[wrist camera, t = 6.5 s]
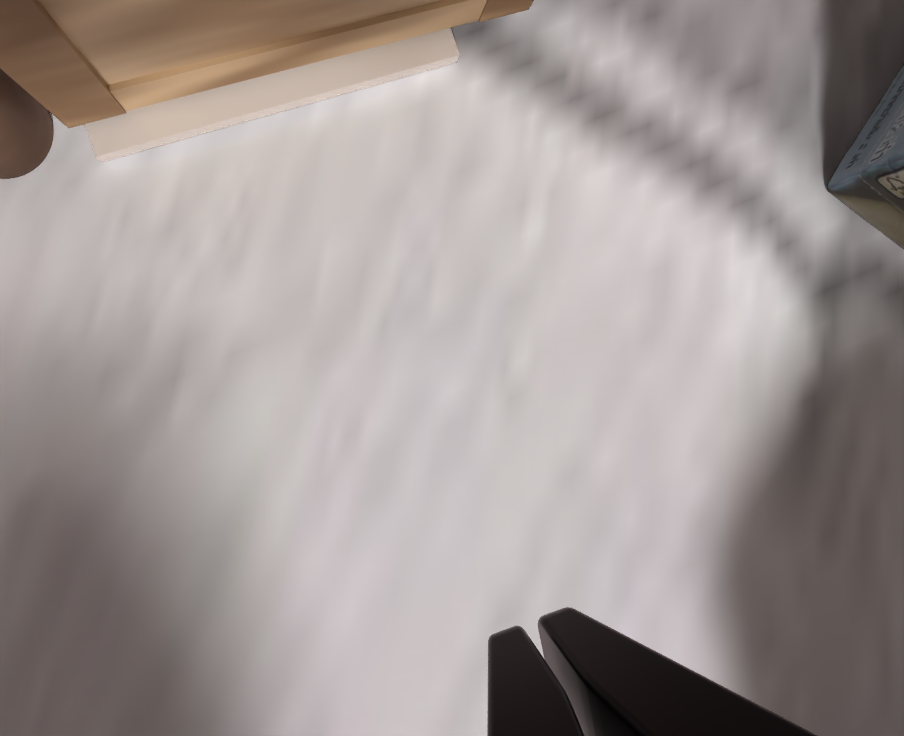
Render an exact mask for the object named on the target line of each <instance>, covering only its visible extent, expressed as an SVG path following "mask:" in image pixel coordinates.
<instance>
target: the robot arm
mask: <svg viewBox="0 0 904 736" xmlns="http://www.w3.org/2000/svg"><path fill="white" fill-rule="evenodd" d="M538 629H539V634H540V639H541V644H542V649H543V654H544V658H545V660H544V658H543V657H542V655H541V654H540V652H539V651H538V649H537V648H536V646H535V645H534V643H533V642H532V640H531V639H530V637H529V636H528V635H527V633H526V632H525V630H524V629H523V628H522V627H520V626H514V627H511V628H508V629H506V630H503V631H500V632H498V633H495V634H493V635H491V636H490V637H489V640H488V736H817V735H815V734H813V733H811V732H809V731H807V730H805V729H804V728H802V727H800V726H798V725H796V724H794V723H792V722H790V721H788V720H786V719H784V718H782V717H781V716H779V715H777V714H775V713H773V712H771V711H769V710H767V709H765V708H763V707H761V706H759V705H758V704H756V703H754V702H752V701H750V700H748V699H746V698H744V697H742V696H740V695H738V694H736V693H735V692H733V691H731V690H729V689H727V688H725V687H723V686H721V685H719V684H717V683H715V682H713V681H711V680H710V679H708V678H706V677H704V676H702V675H700V674H698V673H696V672H694V671H692V670H690V669H688V668H687V667H685V666H683V665H681V664H679V663H677V662H675V661H673V660H671V659H669V658H667V657H665V656H664V655H662V654H660V653H658V652H656V651H654V650H652V649H650V648H648V647H646V646H644V645H642V644H641V643H639V642H637V641H635V640H633V639H631V638H629V637H627V636H625V635H623V634H621V633H619V632H618V631H616V630H614V629H612V628H610V627H608V626H606V625H604V624H602V623H600V622H598V621H596V620H594V619H593V618H591V617H589V616H587V615H585V614H583V613H581V612H579V611H577V610H575V609H573V608H569V607H567V608H563V609H560V610H557V611H554V612H552V613H549V614H546V615H544V616H542V617H540V619H539V621H538Z"/></svg>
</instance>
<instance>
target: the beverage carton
mask: <svg viewBox="0 0 904 736" xmlns="http://www.w3.org/2000/svg"><path fill="white" fill-rule="evenodd" d="M827 190H828V192H830V193H831V194H832V195H834V196H835V197H836V198H838V199H839V200H840V201H841V202H843V203H844V204H845V205H846V206H848V207H849V208H850V209H851V210H853V211H854V212H855V213H857V214H858V215H859V216H860V217H862V218H863V219H864V220H866V221H867V222H868V223H870V224H871V225H873V226H874V227H875V228H877V229H878V230H879V231H881V232H882V233H883V234H884V235H886V236H887V237H888V238H890V239H891V240H892V241H894V242H895V243H896V244H898V245H899V246H900V247H902V248H903V249H904V65H903V67H902V68H901V70H900V72H899V73H898V74H897V76H896V77H895V79H894V80H893V82H892V84H891V85H890V87H889V88H888V90H887V92H886V93H885V95H884V96H883V98H882V99H881V101H880V103H879V104H878V106H877V107H876V109H875V110H874V112H873V113H872V115H871V116H870V118H869V119H868V121H867V122H866V124H865V125H864V127H863V128H862V130H861V132H860V133H859V135H858V137H857V138H856V140H855V142H854V143H853V145H852V146H851V147H850V149H849V150H848V151H847V153H846V154H845V156H844V158H843V159H842V161H841V162H840V164H839V166H838V168H837V169H836V171H835V173H834V175H833V177H832V178H831V180H830V182H829V184H828V187H827Z"/></svg>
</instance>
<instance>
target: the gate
mask: <svg viewBox="0 0 904 736" xmlns="http://www.w3.org/2000/svg"><path fill="white" fill-rule="evenodd" d="M533 1H534V0H0V68H1V69H2V70H3V71H4V72H5V73H6V74H7V75H8V76H10V77H11V78H12V79H13V80H14V81H15V82H16V83H18V84H19V85H20V86H21V87H22V88H23V89H24V90H26V91H27V92H28V93H29V94H30V95H31V96H32V97H34V98H35V99H36V100H37V101H38V102H39V103H40V104H42V105H43V106H44V107H45V108H46V109H47V110H48V111H50V112H51V113H52V114H53V115H54V116H55V117H56V118H57V119H59V120H60V121H61V122H62V123H63V124H64V125H65V126H67V127H68V128H71V127H75V126H79V125H83V124H87V123H91V122H95V121H99V120H102V119H106V118H110V117H114V116H118V115H122V114H126V111H129V110H133V109H137V108H141V107H144V106H148V105H152V104H156V103H160V102H164V101H168V100H172V99H175V98H179V97H183V96H187V95H191V94H195V93H199V92H203V91H206V90H210V89H214V88H218V87H222V86H226V85H230V84H234V83H237V82H241V81H245V80H249V79H253V78H257V77H261V76H265V75H268V74H272V73H276V72H280V71H284V70H288V69H292V68H296V67H299V66H303V65H307V64H311V63H315V62H319V61H323V60H327V59H331V58H334V57H338V56H342V55H346V54H350V53H354V52H358V51H362V50H365V49H369V48H373V47H377V46H381V45H385V44H389V43H393V42H396V41H400V40H404V39H408V38H412V37H416V36H420V35H424V34H427V33H431V32H435V31H439V30H443V29H447V28H451V27H455V26H458V25H462V24H466V23H470V22H474V21H479V22H482V21H486V20H490V19H493V18H497V17H501V16H505V15H509V14H513V13H517V12H520V11H524V10H528V9H529V8H530V6H531V4H532V3H533Z"/></svg>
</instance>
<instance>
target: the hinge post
mask: <svg viewBox="0 0 904 736" xmlns="http://www.w3.org/2000/svg"><path fill="white" fill-rule="evenodd" d="M52 140H53V125H52V121H51V117H50V115H49V113H48V111H47V109H46V108H45V107H44V106H43V105H42V104H40V103H39V102H38V101H37V100H36V99H35V98H34V97H32V96H31V95H30V94H29V93H28V92H27V91H26V90H24V89H23V88H22V87H21V86H20V85H19V84H18V83H16V82H15V81H14V80H13V79H12V78H11V77H10V76H8V75H7V74H6V73H5V72H4V71H3V70H2V69H1V68H0V179H9V178H15V177H19V176H22V175H25V174H27V173H29V172H31V171H32V170H34V169H35V168H36V167H38V166H39V165H40V164H41V163H42V162H43V160H44V159H45V158H46V156H47V154H48V152H49V150H50V148H51V145H52Z"/></svg>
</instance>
